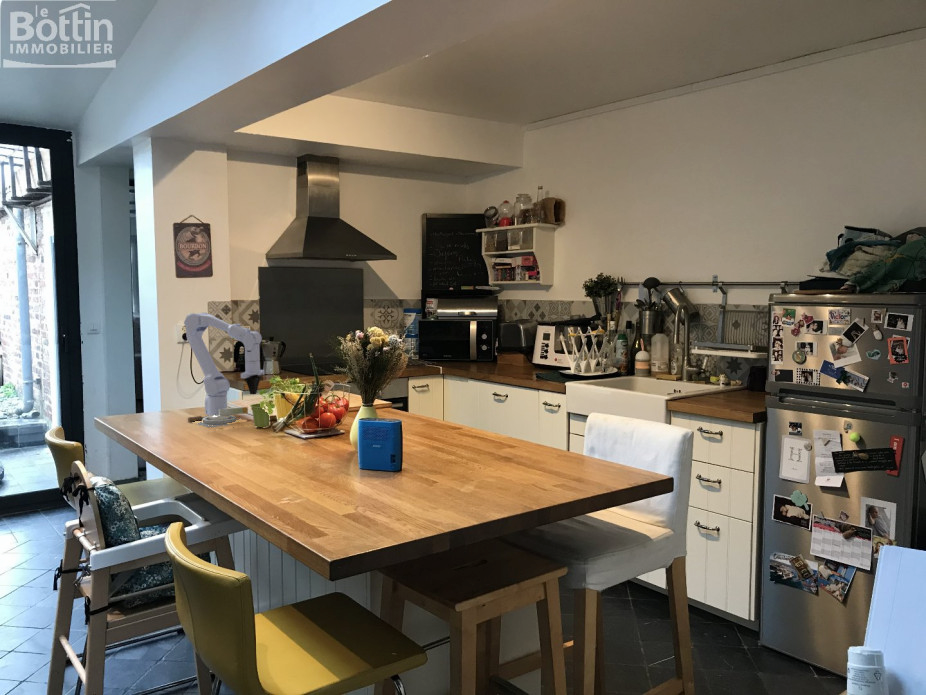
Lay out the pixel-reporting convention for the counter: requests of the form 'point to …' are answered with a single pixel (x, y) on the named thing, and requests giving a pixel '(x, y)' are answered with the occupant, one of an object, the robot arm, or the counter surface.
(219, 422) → the board
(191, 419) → the screwdriver
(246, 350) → the robot arm
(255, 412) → the plant pot
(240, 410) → the dial
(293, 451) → the counter surface
